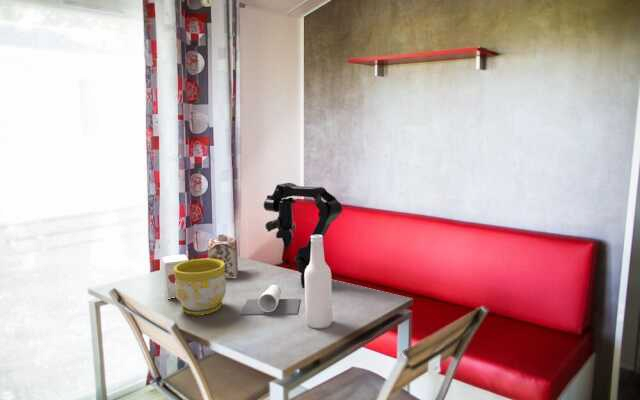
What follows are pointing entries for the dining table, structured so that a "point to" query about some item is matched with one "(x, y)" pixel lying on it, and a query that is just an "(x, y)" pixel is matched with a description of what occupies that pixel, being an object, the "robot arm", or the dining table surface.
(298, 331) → the dining table surface
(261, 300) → the drinking glass
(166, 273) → the supplement box
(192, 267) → the flowerpot
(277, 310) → the mat
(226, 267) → the decorative jar
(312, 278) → the alcohol
